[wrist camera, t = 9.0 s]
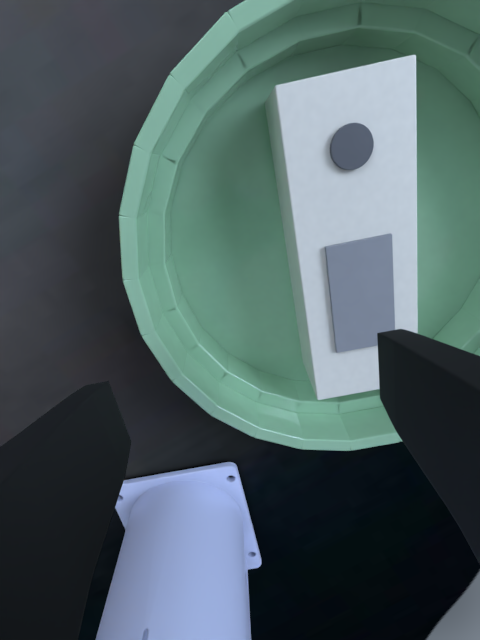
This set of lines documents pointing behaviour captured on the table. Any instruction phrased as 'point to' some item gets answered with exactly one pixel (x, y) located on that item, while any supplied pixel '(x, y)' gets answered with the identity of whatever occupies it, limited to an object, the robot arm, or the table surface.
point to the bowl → (265, 216)
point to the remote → (348, 214)
